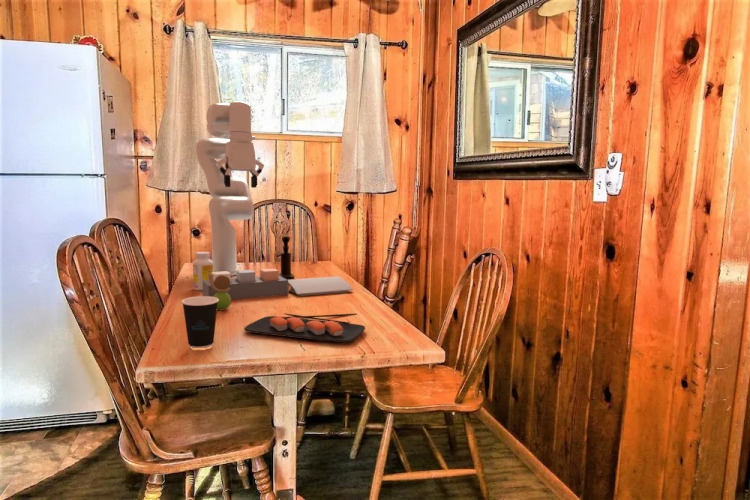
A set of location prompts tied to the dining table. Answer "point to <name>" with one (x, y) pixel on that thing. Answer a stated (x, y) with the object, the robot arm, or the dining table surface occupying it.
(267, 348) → the dining table surface
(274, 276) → the terracotta key
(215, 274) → the cream key
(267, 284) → the key panel
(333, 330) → the sushi plate
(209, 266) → the supplement bottle
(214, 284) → the snail figurine
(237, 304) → the dining table surface
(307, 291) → the book
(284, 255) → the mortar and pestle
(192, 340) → the dixie cup
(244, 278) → the slate key
